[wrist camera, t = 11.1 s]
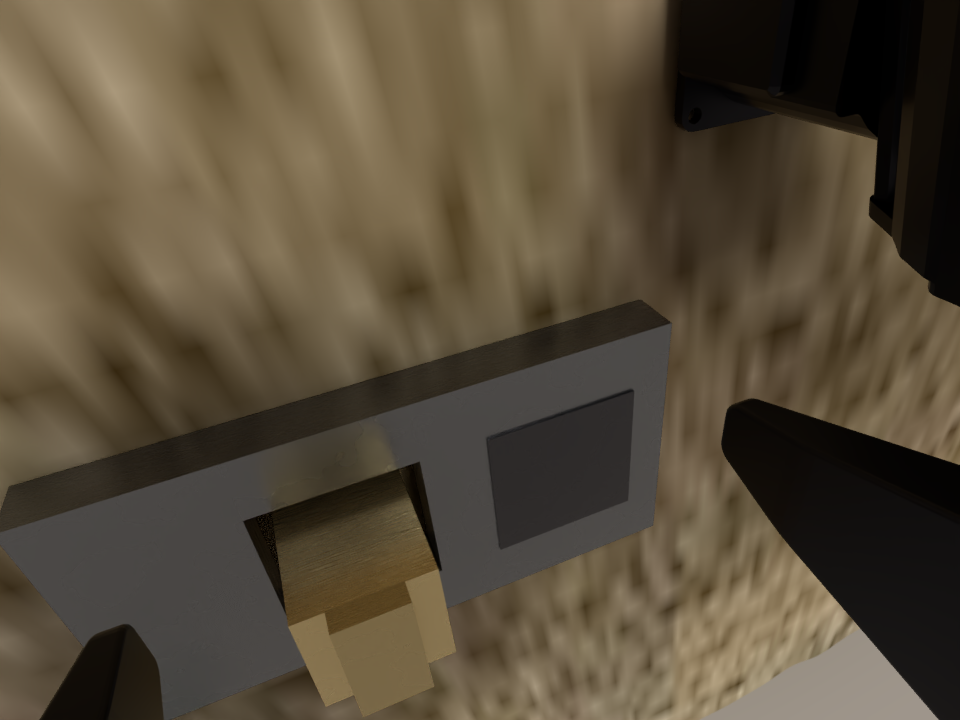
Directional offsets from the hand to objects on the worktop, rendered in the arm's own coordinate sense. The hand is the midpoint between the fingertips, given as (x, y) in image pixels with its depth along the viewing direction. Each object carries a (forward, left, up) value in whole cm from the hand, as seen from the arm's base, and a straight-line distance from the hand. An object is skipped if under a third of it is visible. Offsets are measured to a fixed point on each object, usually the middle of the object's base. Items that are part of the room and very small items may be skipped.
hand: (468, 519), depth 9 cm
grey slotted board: (0, +11, -12) cm, 16 cm away
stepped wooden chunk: (+2, +11, -12) cm, 16 cm away
